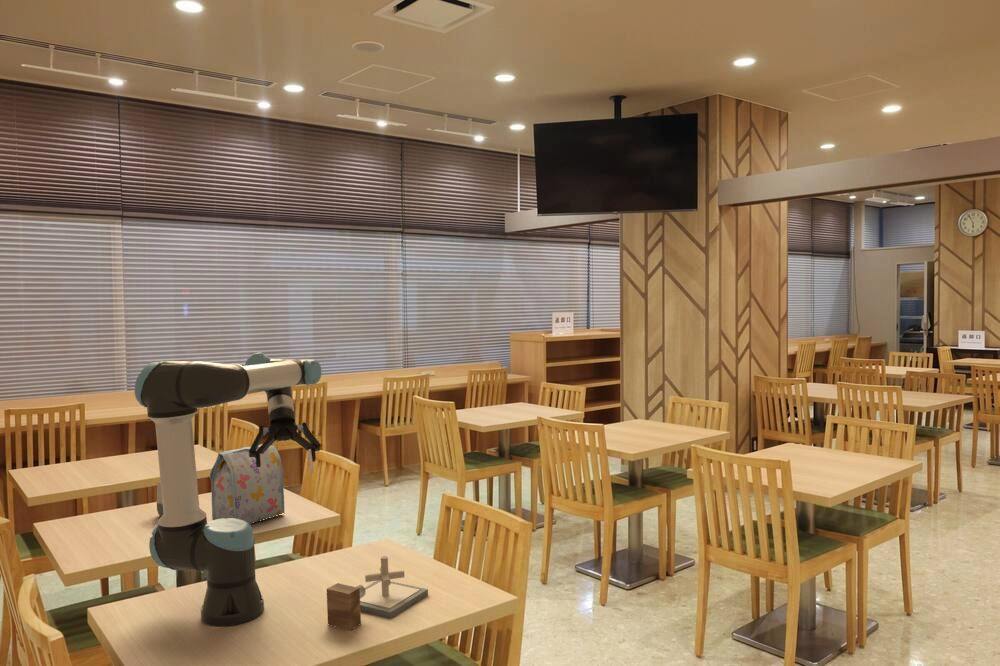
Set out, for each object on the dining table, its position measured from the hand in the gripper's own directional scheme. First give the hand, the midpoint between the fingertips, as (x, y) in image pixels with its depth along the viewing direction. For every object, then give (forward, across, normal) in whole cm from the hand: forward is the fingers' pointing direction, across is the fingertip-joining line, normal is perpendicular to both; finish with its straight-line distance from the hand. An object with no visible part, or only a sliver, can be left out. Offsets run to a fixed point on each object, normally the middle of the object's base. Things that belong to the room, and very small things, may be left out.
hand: (287, 473), depth 217 cm
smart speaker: (-36, +37, -78) cm, 93 cm away
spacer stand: (+44, -18, +2) cm, 47 cm away
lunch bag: (-23, +10, -65) cm, 70 cm away
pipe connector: (+41, -21, +1) cm, 46 cm away
